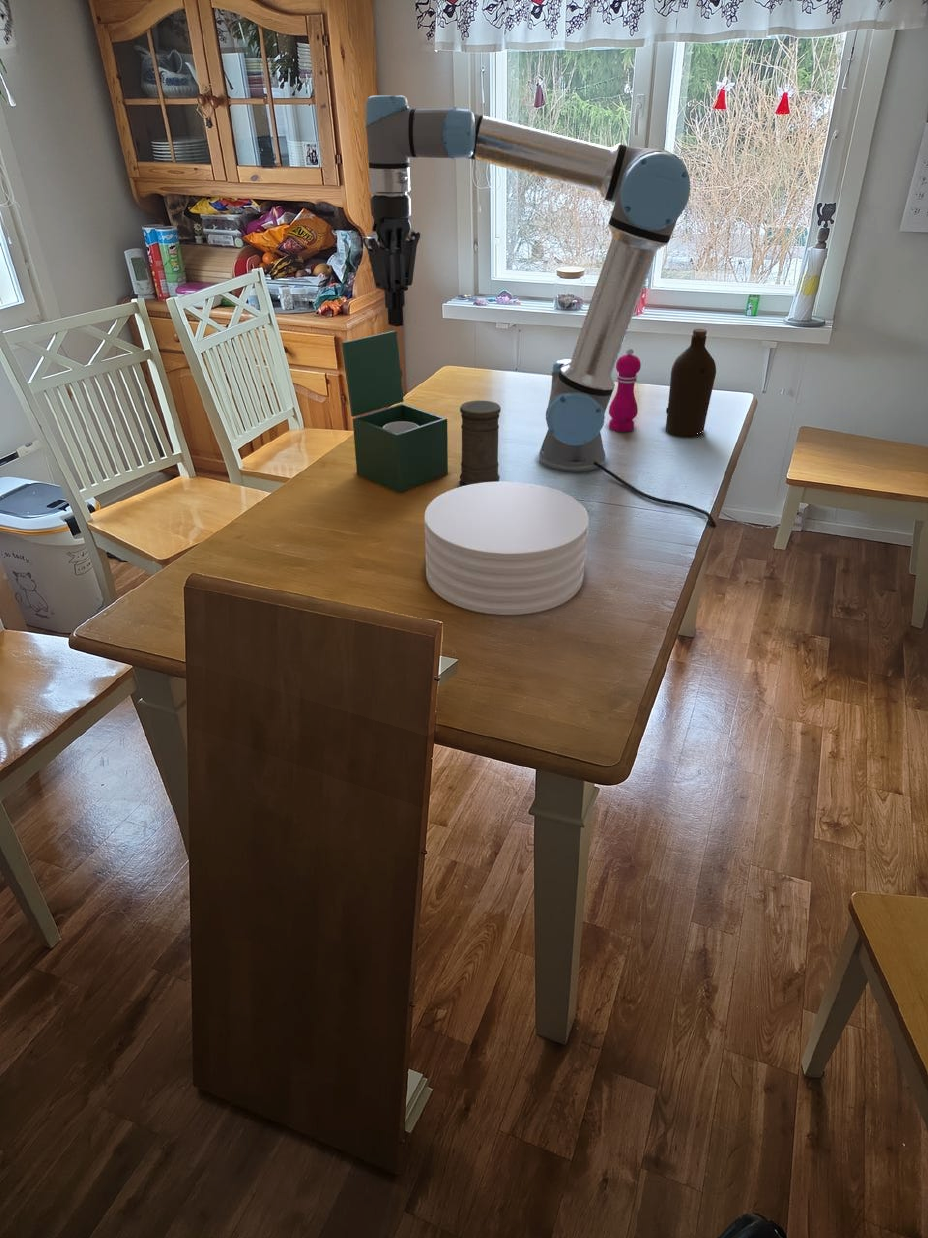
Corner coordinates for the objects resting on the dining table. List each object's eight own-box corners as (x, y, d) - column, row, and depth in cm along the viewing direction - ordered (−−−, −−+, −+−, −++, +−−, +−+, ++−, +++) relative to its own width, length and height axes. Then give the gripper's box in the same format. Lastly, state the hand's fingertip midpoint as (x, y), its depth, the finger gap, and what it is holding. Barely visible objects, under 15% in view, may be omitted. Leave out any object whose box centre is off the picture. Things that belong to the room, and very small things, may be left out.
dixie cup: (391, 480, 174) (389, 436, 168) (379, 466, 180) (376, 424, 175) (426, 474, 177) (425, 430, 171) (413, 461, 183) (411, 418, 178)
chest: (448, 473, 179) (447, 418, 172) (399, 492, 170) (396, 435, 163) (404, 456, 188) (402, 403, 181) (356, 473, 179) (352, 418, 172)
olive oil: (714, 432, 202) (732, 330, 188) (688, 442, 196) (704, 337, 182) (680, 421, 208) (695, 322, 195) (654, 430, 203) (668, 329, 189)
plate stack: (609, 600, 134) (617, 540, 127) (450, 626, 127) (449, 564, 121) (548, 528, 156) (552, 474, 150) (410, 547, 149) (407, 491, 143)
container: (496, 497, 168) (498, 414, 159) (455, 493, 170) (454, 411, 160) (503, 480, 176) (505, 400, 166) (463, 477, 177) (463, 397, 167)
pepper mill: (639, 426, 205) (649, 347, 194) (628, 434, 200) (638, 353, 189) (613, 421, 209) (622, 343, 198) (602, 429, 204) (610, 349, 193)
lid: (396, 330, 172) (383, 328, 175) (343, 342, 164) (330, 340, 167) (403, 401, 180) (390, 398, 183) (353, 416, 171) (340, 413, 174)
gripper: (376, 197, 142) (383, 333, 155) (429, 192, 150) (432, 322, 163) (349, 194, 147) (358, 327, 159) (403, 190, 154) (407, 316, 167)
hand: (395, 324), depth 161 cm, fingers closed
